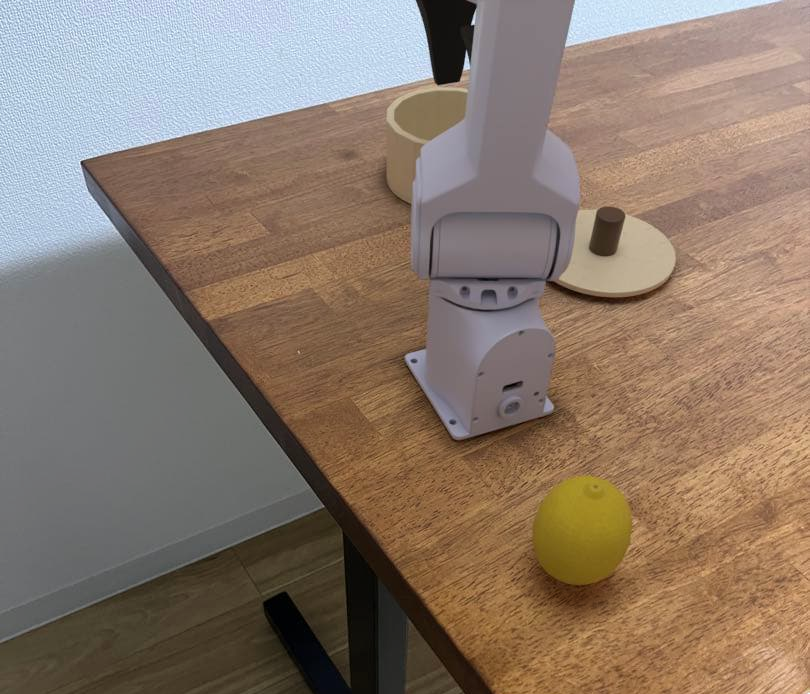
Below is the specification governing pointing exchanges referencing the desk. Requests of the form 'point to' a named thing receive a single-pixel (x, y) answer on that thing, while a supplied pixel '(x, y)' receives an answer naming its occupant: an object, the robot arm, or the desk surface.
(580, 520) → the lemon
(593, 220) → the lid
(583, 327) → the desk surface
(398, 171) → the pot
